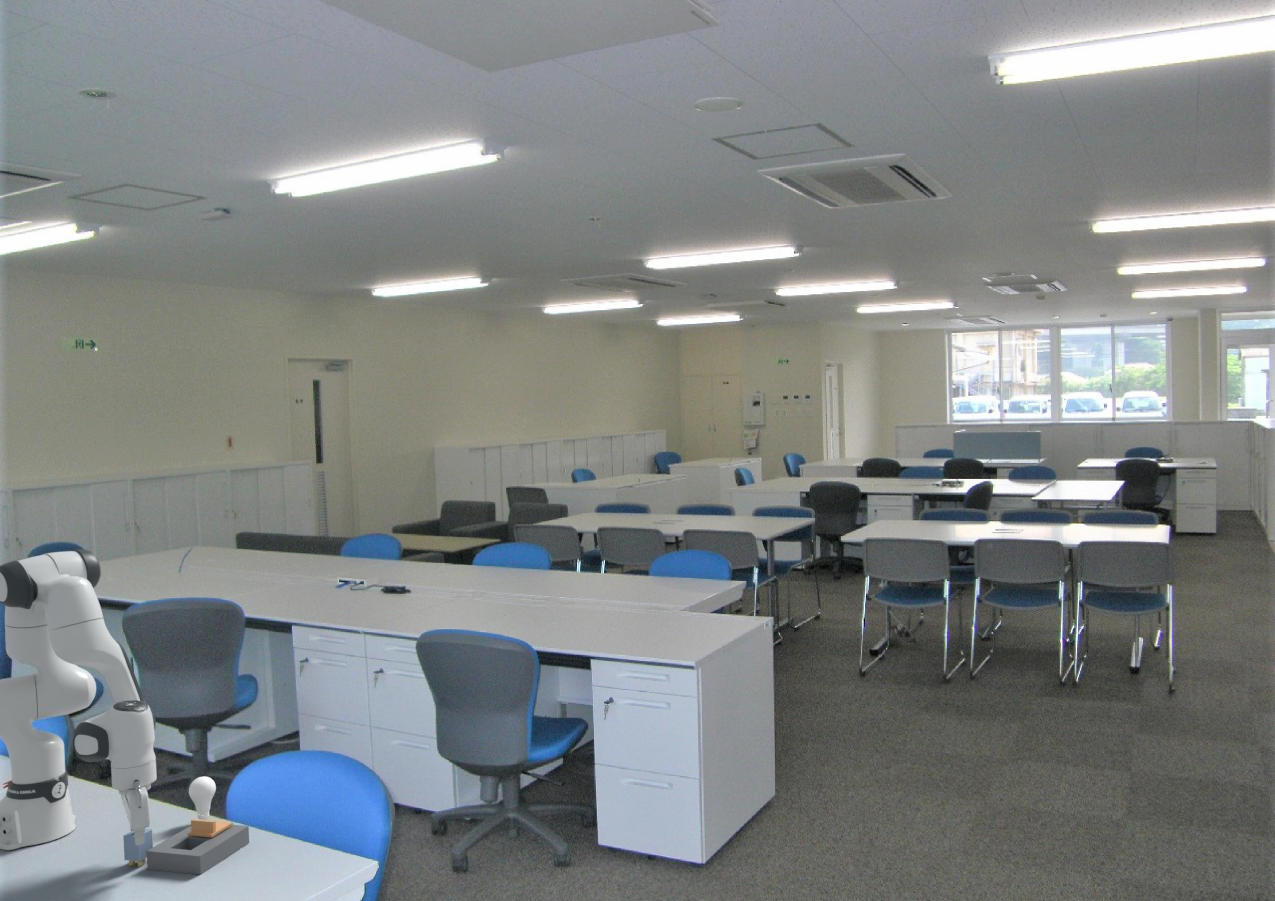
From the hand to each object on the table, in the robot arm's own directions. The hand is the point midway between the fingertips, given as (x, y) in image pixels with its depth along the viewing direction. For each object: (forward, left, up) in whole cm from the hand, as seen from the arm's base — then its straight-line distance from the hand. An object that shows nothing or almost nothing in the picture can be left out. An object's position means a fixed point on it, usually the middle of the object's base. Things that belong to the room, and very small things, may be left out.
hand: (137, 837), depth 211 cm
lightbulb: (-3, +24, -7) cm, 25 cm away
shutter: (+10, +11, -2) cm, 15 cm away
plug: (-1, +1, -6) cm, 6 cm away
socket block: (+10, +7, -6) cm, 14 cm away
